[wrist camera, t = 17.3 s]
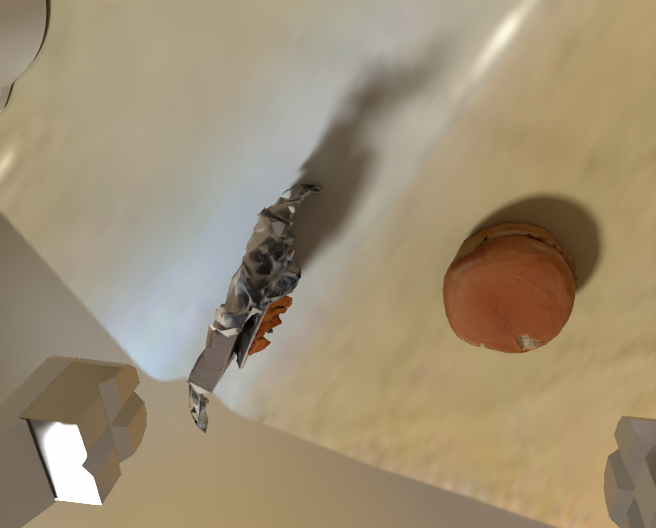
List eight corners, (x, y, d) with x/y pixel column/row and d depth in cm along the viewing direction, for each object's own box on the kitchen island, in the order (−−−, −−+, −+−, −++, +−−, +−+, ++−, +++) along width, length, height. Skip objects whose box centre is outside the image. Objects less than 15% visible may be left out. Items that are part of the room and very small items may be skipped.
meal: (278, 335, 51) (229, 443, 40) (234, 316, 51) (172, 419, 40) (340, 192, 44) (302, 276, 32) (289, 169, 44) (232, 245, 32)
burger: (513, 196, 41) (520, 222, 37) (598, 277, 43) (613, 311, 39) (415, 277, 46) (412, 309, 42) (496, 348, 48) (500, 385, 44)
